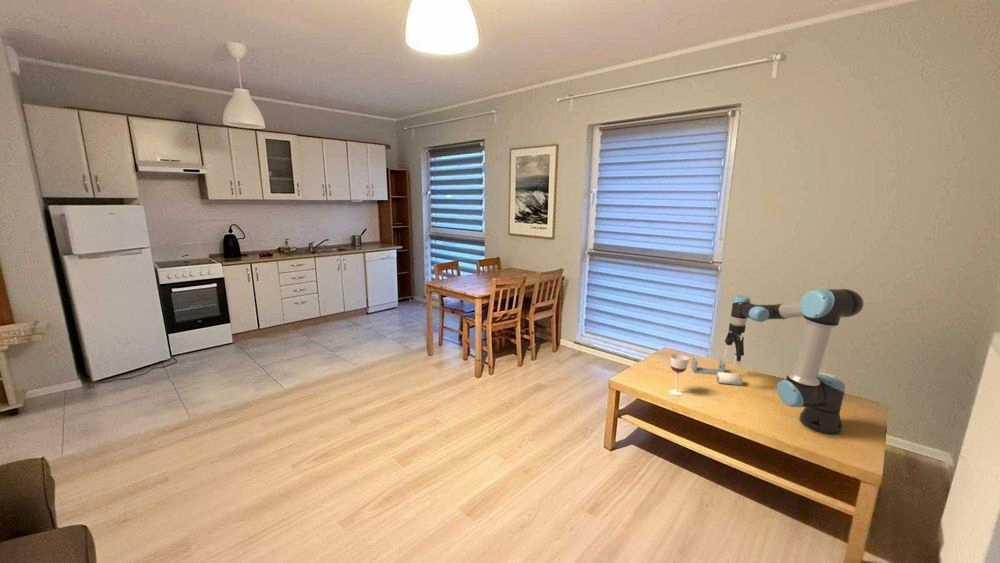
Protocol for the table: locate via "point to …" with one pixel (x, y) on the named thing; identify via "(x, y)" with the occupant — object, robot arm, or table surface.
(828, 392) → the robot arm
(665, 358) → the table surface
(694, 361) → the holder
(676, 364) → the wineglass
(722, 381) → the paper roll
